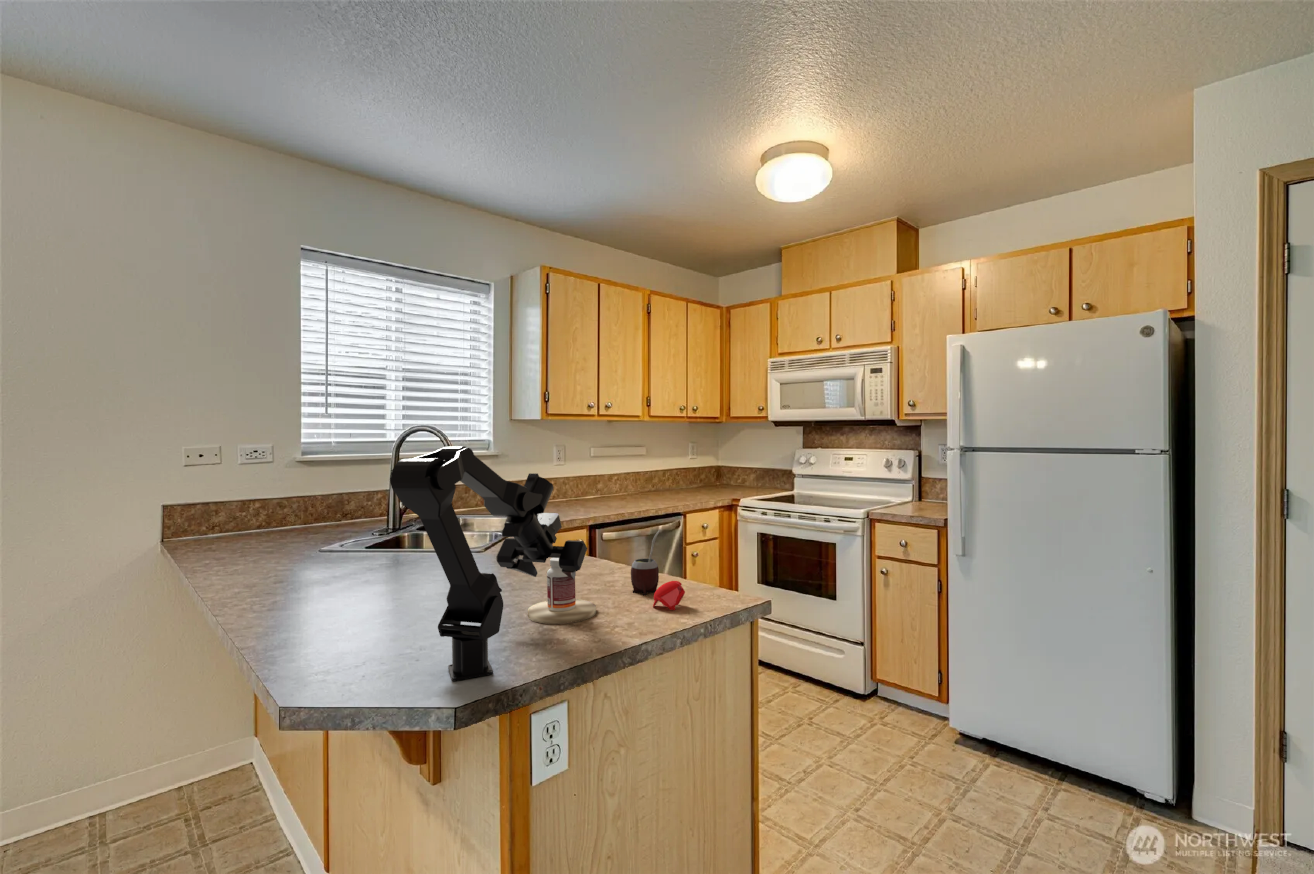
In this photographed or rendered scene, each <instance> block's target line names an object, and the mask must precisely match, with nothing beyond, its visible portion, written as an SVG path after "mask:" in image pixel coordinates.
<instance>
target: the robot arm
mask: <svg viewBox="0 0 1314 874" xmlns="http://www.w3.org/2000/svg"><path fill="white" fill-rule="evenodd" d="M526 477H527V478H526V479H525V482H524V485H522V484H520V483H518V482H514V481H510V480H506V479H504V478H503V477H501V475H499V474H498V473H497V472H496V471H494V470H493V469H492V468H491V467H490V466H488V465H487V464H486V463H484V462H483V461H482V460H481V459H480V458H479V457H477V456H476V455H475V453H474V451H473V450H472V448H470V447H467V446H462V445H461V446H460V445H459V446H444V447H442V448H439V449H436V450H435V451H432V452H429V453H427V454H423V455H418V456H416V457H413V458H412V457H411V458H402V459H400V460H398V461H397V462H396V463H395V465H394V467H393V468H392V470H391V472H390V477H389V482H390V486H391V489H392V492H394V494H395V495H396V497H397V498H398V499H399V502H400V503H401V504H402V505H403V506H404V507H406V508H407V509H408V510H410V511H411V512H412V513H413V514H415V515H416V516H418V518H419V519H420V521H421V523H422V525H423V527H424V529H425V532H426V533H427V536H428V539H429V540H430V543H431V545H432V547H433V549H434V552H435V554H436V556H437V559H438V560H439V563H440V565H441V568H442V570H443V572H444V574H445V577H446V579H447V581H448V583H449V589H448V592H447V595H446V603H447V607H446V608H445V611H444V612H443V614H442V616H441V618H440V621H439V622H438V625H437V630H438V633H439V637H443V638H444V637H447V638H451V648H452V649H451V650H452V652H451V655H452V656H451V658H452V659H451V661H452V663H450V664H448V666H447V669H448V672H449V675H450V679H451V681H453V682H454V681H462V680H467V679H473V678H478V677H484V676H489V675H493V674H494V669H493V667H492V664H491V663H490V661H489V641H488V640H489V638H492V637H493V636H495V635H496V634H498V633H500V630H501V629H500V628H501V622H502V618H503V613H504V612H503V610H504V599H503V596H502V593H501V592H503V589H502V588H501V587H500V585H499V583H498V579H497V576H496V575H495V574H494V573H492V572H481V571H480V570H479V567H478V565H477V563H476V562H477V561H476V560H475V558H474V555H473V553H472V552H473V551H472V550H471V548H470V546H469V543H468V540H467V538H466V536H465V534H464V530H463V528H462V526H461V524H460V521H459V519H458V516H457V513H456V511H455V509H454V506H453V500H454V496H455V493H456V489H457V486H456V484H457V483H458V482H461V483H462V484H463V485H465V486H466V487H468V488H469V489H470V490H472V491H473V492H474V493H476V494H477V495H479V496H480V497H481V498H482V499H483V507H484V508H485V509H486V510H487V511H488V512H489V513H490V515H491V516H493V517H497V518H498V517H500V518H502V517H504V518H505V517H506V519H505V521H504V525H503V529H502V531H501V536H502V537H503V538H504V540H503V541H502V543H501V545H500V548H499V550H498V551H497V554H496V556H495V557H496V558H495V559H496V563H498V565H499V567H500V568H506V569H507V570H512V571H516V572H519V573H523V574H525V575H528V576H531V577H533V578H536V577H537V576H538V571H537V568H536V566H535V564H534V563H546V562H547V559H548V558H550V559H551V558H559V566H560V568H561V569H562V572H563V573H564V574H566V575H567V576H568V577H570V578H571V579H575V580H576V574H577V573H576V572H579V570H581V568H582V565H583V562H584V559H585V557H586V553H587V550H588V546H587V545H586V543H585V542H584V540H575V539H574V540H573V539H569V540H565V541H564V544H563V546H561V545H560V546H559V545H553V544H555V543H557V542H556V541H557V539H558V538H557V536H556V535H557V533H558V532H559V530H561V529H562V523H561V517H560V515H559V513H557V512H545V511H546V508H547V505H548V503H549V501H550V499H551V496H552V494H553V491H554V488H555V487H554V485H553V483H552V482H550V481H549V480H548V479H546V478H544V477H541V476H540V475H539V473H537V472H536V473H528V476H526ZM462 623H472V624H480V625H472V624H462Z"/></svg>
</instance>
